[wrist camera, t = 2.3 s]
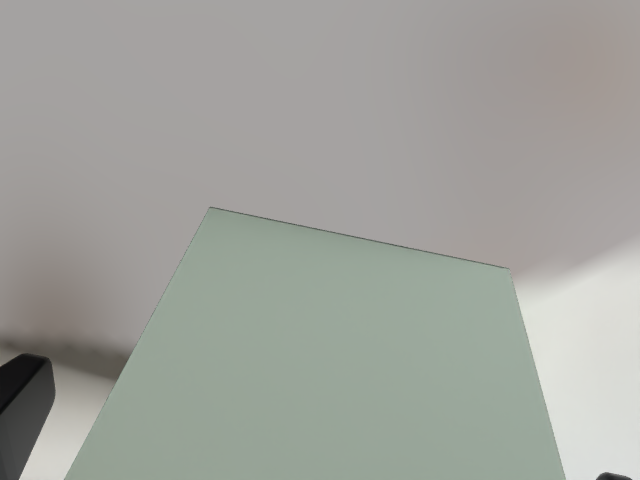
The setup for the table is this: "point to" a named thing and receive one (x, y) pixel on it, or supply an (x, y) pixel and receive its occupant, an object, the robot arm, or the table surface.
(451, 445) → the sage box
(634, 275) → the table surface
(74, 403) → the table surface
